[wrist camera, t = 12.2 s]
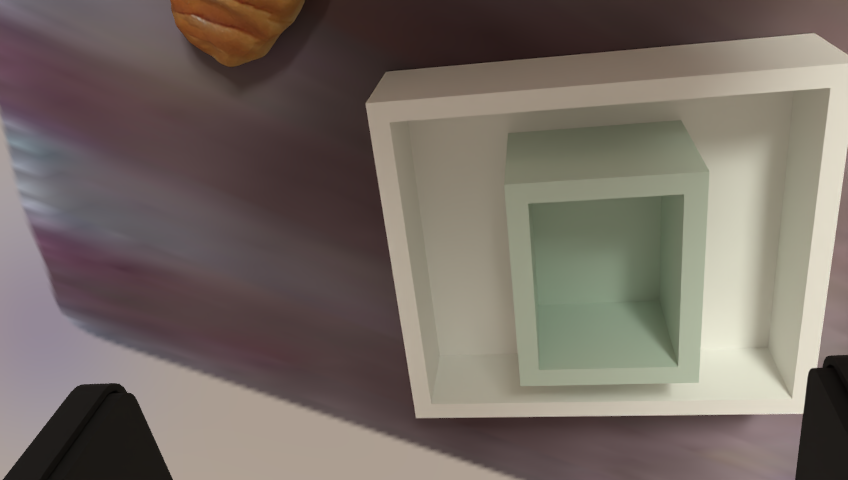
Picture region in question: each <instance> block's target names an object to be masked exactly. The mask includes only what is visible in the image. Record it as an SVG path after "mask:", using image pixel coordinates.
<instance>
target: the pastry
mask: <svg viewBox="0 0 848 480" xmlns="http://www.w3.org/2000/svg"><path fill="white" fill-rule="evenodd" d="M170 1H171V9H172V13H173V16H174V19H175V23H176V25H177V27H178V28H179V30H180V31H181V32H182V33H183V35H184V36H185V37H186V38H187V39H188V41H189V42H190V43H192V44H193V45H195V46H196V47H197V48H199V49H200V50H202V51H203V52H205V53H207V54H209V55H211V56H213V57H214V58H215V59H216V60H217V61H218V62H219V63H221V64H223V65H225V66H228V67H234V66H239V65H241V64H243V63H247V62H250V61H252V60H256V59H259V58H261V57H263V56H265V55H266V54H267V53H268V52H269V51H270V49H271V47H272V46H273V45H274V43H275V42H276V40H277V38H278V37H279V36H280V34H281V33H282V32H283V31H284V30H285V29H286V28H287V27H289V26H290V25H291V24H292V23H293V22H294V21H295V19H296V17H297V16H298V14H299V12H300V10H301V9H302V6H303V4H304V2H305V0H170Z"/></svg>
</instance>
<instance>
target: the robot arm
mask: <svg viewBox="0 0 848 480" xmlns="http://www.w3.org/2000/svg"><path fill="white" fill-rule="evenodd" d="M3 480H173V479H172V477H171V475H170V472H169V470H168V468H167V466H166V464H165V462H164V459H163V457H162V455H161V453H160V450H159V448H158V446H157V444H156V441H155V439H154V437H153V435H152V433H151V431H150V428H149V426H148V424H147V422H146V419H145V417H144V415H143V413H142V411H141V408H140V406H139V404H138V402H137V400H136V398H135V396H134V395H133V394H131V393H127V392H126V390H125V388H124V387H122V386H121V385H120V384H115V383H110V384H84V385H80V386H77V387H76V388H75V389H74V390H73V391H72V392H71V393H70V394H69V395H68V397H67V398H66V399H65V401H64V402H63V403H62V404H61V406H60V407H59V408H58V410H57V411H56V412H55V413H54V415H53V416H52V417H51V419H50V420H49V421H48V422H47V424H46V425H45V426H44V427H43V429H42V430H41V431H40V433H39V434H38V435H37V436H36V438H35V439H34V440H33V442H32V443H31V444H30V445H29V447H28V448H27V449H26V451H25V452H24V453H23V454H22V456H21V457H20V458H19V460H18V461H17V462H16V464H15V465H14V466H13V467H12V469H11V470H10V471H9V472H8V474H7V475H6V476H5V478H4V479H3ZM795 480H848V355H837V356H828V357H826V359H825V360H824V363H823V368H812V369H810V371H809V373H808V378H807V386H806V395H805V403H804V411H803V420H802V428H801V436H800V445H799V453H798V461H797V470H796V478H795Z"/></svg>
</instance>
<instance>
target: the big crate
mask: <svg viewBox="0 0 848 480" xmlns="http://www.w3.org/2000/svg"><path fill="white" fill-rule="evenodd" d="M365 104H366V110H367V116H368V122H369V129H370V135H371V141H372V147H373V153H374V160H375V166H376V172H377V178H378V185H379V191H380V197H381V203H382V209H383V216H384V222H385V228H386V234H387V240H388V247H389V253H390V259H391V265H392V272H393V278H394V284H395V290H396V296H397V303H398V309H399V315H400V321H401V328H402V334H403V340H404V346H405V352H406V359H407V365H408V371H409V377H410V383H411V390H412V396H413V402H414V408H415V415H416V418H473V417H561V416H648V415H736V414H803V411H804V403H805V395H806V386H807V378H808V373H809V371H810V369H812V368H817V363H818V356H819V349H820V342H821V334H822V327H823V320H824V313H825V305H826V298H827V291H828V284H829V277H830V269H831V262H832V255H833V248H834V241H835V233H836V226H837V219H838V212H839V204H840V197H841V190H842V183H843V176H844V168H845V161H846V154H847V147H848V55H847V54H846V53H844V52H843V51H841V50H839V49H838V48H836V47H835V46H833V45H832V44H830V43H829V42H827V41H826V40H824V39H823V38H821V37H820V36H818V35H817V34H815V33H810V34H799V35H788V36H777V37H766V38H755V39H744V40H733V41H721V42H710V43H699V44H688V45H677V46H666V47H655V48H644V49H633V50H621V51H610V52H599V53H588V54H577V55H566V56H555V57H544V58H533V59H521V60H510V61H499V62H488V63H477V64H466V65H455V66H444V67H432V68H421V69H410V70H399V71H388V72H385V74H384V75H383V77H382V79H381V80H380V82H379V83H378V85H377V86H376V88H375V89H374V91H373V93H372V94H371V96H370V97H369V99H368V100H367V102H366V103H365ZM675 120H681V121H682V123H683V124H684V126H685V128H686V130H687V132H688V133H689V135H690V137H691V139H692V141H693V142H694V144H695V146H696V148H697V150H698V152H699V153H700V155H701V157H702V159H703V161H704V162H705V164H706V166H707V168H708V170H709V191H708V211H707V230H706V250H705V270H704V290H703V310H702V329H701V349H700V369H699V383H662V384H611V385H559V386H520V374H519V362H518V350H517V337H516V325H515V313H514V301H513V288H512V276H511V264H510V252H509V239H508V227H507V215H506V203H505V190H504V179H505V166H506V153H507V141H508V133H516V132H530V131H543V130H556V129H569V128H583V127H596V126H609V125H622V124H636V123H649V122H662V121H675Z"/></svg>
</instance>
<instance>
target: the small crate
mask: <svg viewBox="0 0 848 480" xmlns="http://www.w3.org/2000/svg"><path fill="white" fill-rule="evenodd" d="M504 190H505V203H506V215H507V227H508V239H509V252H510V264H511V276H512V288H513V301H514V313H515V325H516V337H517V350H518V362H519V374H520V386H559V385H611V384H662V383H699V369H700V349H701V329H702V310H703V290H704V270H705V250H706V230H707V211H708V191H709V170H708V168H707V166H706V164H705V162H704V161H703V159H702V157H701V155H700V153H699V152H698V150H697V148H696V146H695V144H694V142H693V141H692V139H691V137H690V135H689V133H688V132H687V130H686V128H685V126H684V124H683V123H682V121H681V120H675V121H662V122H649V123H636V124H622V125H609V126H596V127H583V128H569V129H556V130H543V131H530V132H516V133H508V141H507V153H506V166H505V179H504Z"/></svg>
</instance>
